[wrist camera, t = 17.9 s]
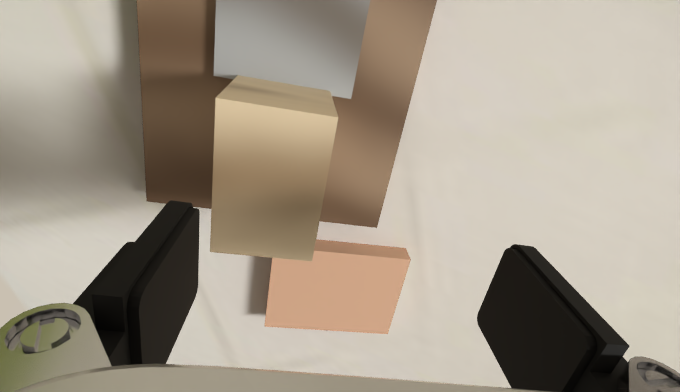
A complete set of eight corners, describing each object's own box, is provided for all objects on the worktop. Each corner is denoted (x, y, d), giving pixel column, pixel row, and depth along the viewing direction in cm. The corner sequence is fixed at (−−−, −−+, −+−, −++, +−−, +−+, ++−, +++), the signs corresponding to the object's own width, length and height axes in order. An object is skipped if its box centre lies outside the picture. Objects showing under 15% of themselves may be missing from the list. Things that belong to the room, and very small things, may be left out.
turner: (329, 205, 20) (336, 263, 15) (211, 191, 19) (183, 249, 14) (385, -87, 14) (422, -131, 10) (223, -129, 13) (182, -197, 9)
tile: (387, 334, 24) (264, 326, 23) (382, 316, 26) (266, 308, 25) (410, 259, 22) (273, 246, 21) (404, 244, 23) (275, 231, 22)
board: (373, 216, 22) (376, 227, 21) (155, 190, 20) (146, 201, 19) (446, -70, 16) (456, -76, 14) (142, -148, 14) (128, -161, 13)
